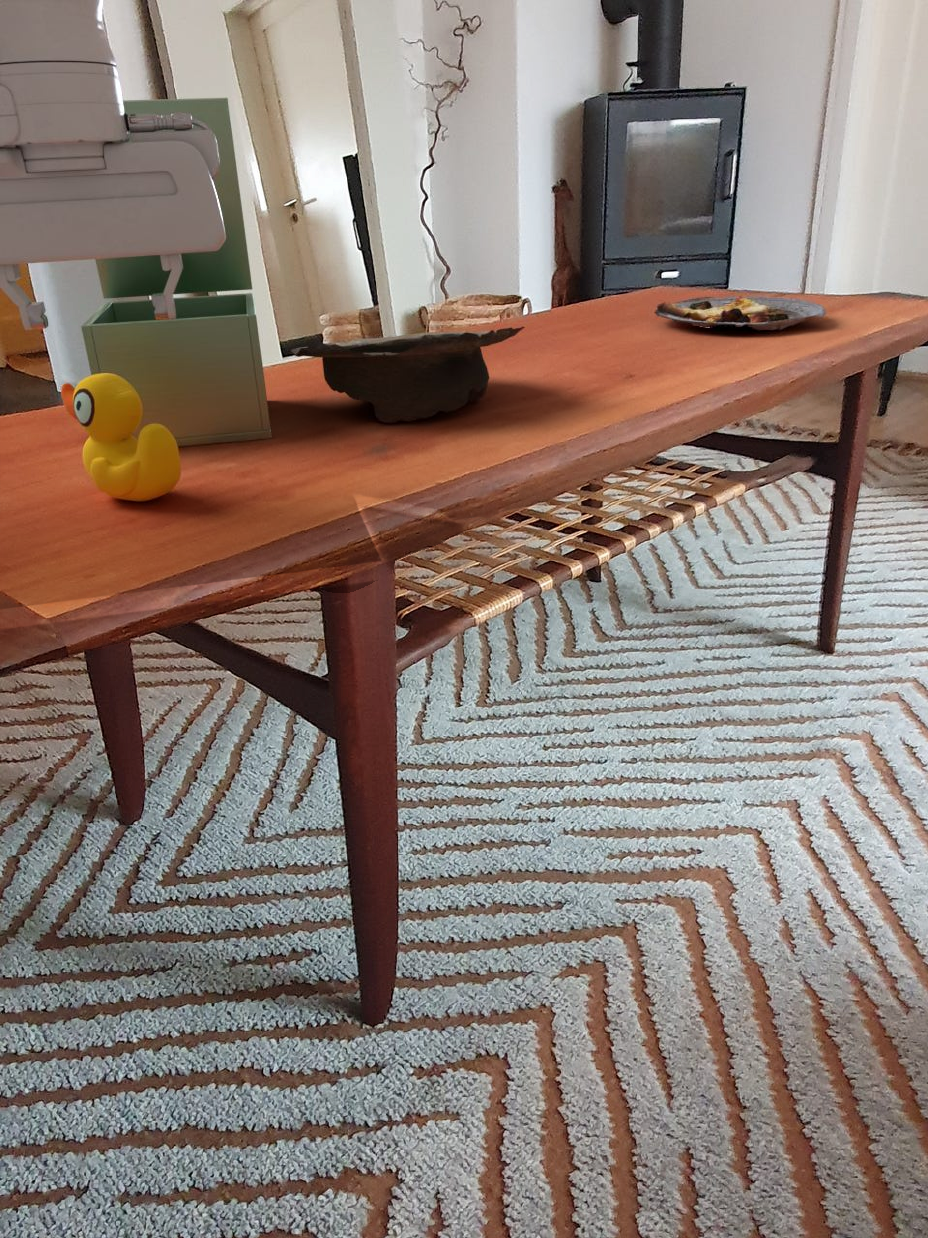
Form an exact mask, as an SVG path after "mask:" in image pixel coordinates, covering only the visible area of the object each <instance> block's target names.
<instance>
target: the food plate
mask: <svg viewBox="0 0 928 1238" xmlns="http://www.w3.org/2000/svg"><path fill="white" fill-rule="evenodd" d="M654 314H655V315H656V317H661V318H665V319H667V320H671V321H674V322H675V323H677V322H679V323H687V324H691V326H692V325H693V327H694V326H702V327H710V328H711V327H712V328H711V329H714V328H715V327H717V326H719V325H721V326H731V327H730V329H732V328H733V326H734V327H737V328H741V327H743V326H745V327H746V326H747V327H748V328H751V329H753V330H754V329H755V330H754V331H767V330H768V331H774V330H778V329H779V331H782V330H783V329H785V328H788V327H791V326H792V327H793V326H795V325H797V324H799V323H804V322H805V321H810V320H811V319H813V318H814V317H815V318H820V317H821V318H822V317H823V316H825V315H826V314H827V310H826V309H825V307H824V306H823V305H821V304H820V303H817V302H814V301H809V300H806V299H798V298H797V299H794V298H792V297H791V298H789V297H775V296H774V297H772V296H757V295H756V296H755V295H754V296H742V295H740V296H725V297H714V296H703V297H702V296H701V297H695V298H691V299H690V298H689V299H685V300H681V301H677V302H676V301H675V302H673V303H671V302H670V301H668V302H666V301H664V302H661V303H659V304H658V303H657V306H656V309H655V310H654ZM756 329H757V330H756Z"/></svg>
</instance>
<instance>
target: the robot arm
mask: <svg viewBox="0 0 928 1238" xmlns="http://www.w3.org/2000/svg"><path fill="white" fill-rule="evenodd" d="M103 5H104V0H0V289H1V290H2V292H4V294H5V295H6V296H7V297H8V298H9V299H10V300H11V301H12V302H13V304H14V305H15V306H17V307H18V310H19V314H20V318H21V322H22V326H23V328H24V330H25V331H34V330H42V329H43V330H45V329H47V328H48V327H49V319H48V316H47V315H46V314H45V313H46V305H45V303H44V301H32V300H31V298H30V297H29V296H28V295H27V294H26V292H25V291H24V289H22V288H21V286H20V285H19V284H18V283H17V281H18V280H20V279H21V278H22V273H21V268H20V265H25V264H40V263H41V264H42V263H57V262H71V261H86V260H87V261H88V260H89V261H90V260H95V259H104V258H119V257H135V256H150V255H160V258H161V264H162V269H163V270H164V271H169V270H170V269H171V273H170V275H169V278H168V281H167V284H166V286H165V289H164V292H163V293H157V294H153V295H152V296H151V299H152V302H153V306H154V307H155V308H156V309H155V311H154V313H155V318H156V320H163V319H176V309H175V303H174V298H175V297H174V294H173V293H174V291H175V288H176V286H177V283H178V280H179V278H180V275H181V272H182V269H183V263H182V257H181V253H197V252H212V251H217V250H219V248H220V247H221V246H222V245H223V243H224V242H225V239H226V234H225V228H224V222H223V218H222V213H221V209H220V204H219V200H218V197H217V193H216V190H215V186H214V183H213V180H214V179H215V177H216V176H217V174H218V171H219V167H220V160H219V154H218V147H217V141H216V137H215V135H214V133H213V132H212V130H211V129H210V128H209V127H208V126H207V125H206V124H205V123H204V122H202V121H200V120H197V119H192V117H191V114H188V113H173V114H172V115H162V116H161V115H156V114H154V115H153V114H131V115H126V113H125V109H124V104H123V100H124V99H123V94H122V93H123V92H122V87H121V83H120V78H119V71H118V66H117V61H116V58H115V55H114V53H113V51H112V49H111V47H110V44H109V41H108V39H107V35H106V32H105V27H104V21H103V20H104V19H103V7H104V6H103ZM193 125H196V126H199V127H200V128H202V129H203V130H190V129H193ZM167 129H168V130H175V131H163V132H156V131H162V130H167ZM129 130H130V137H129V133H128V132H129ZM186 130H187V131H186ZM130 138H131V142H129V141H130ZM125 142H128V143H125Z"/></svg>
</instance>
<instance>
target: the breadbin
mask: <svg viewBox="0 0 928 1238" xmlns="http://www.w3.org/2000/svg"><path fill="white" fill-rule="evenodd" d="M173 298H174V303H175V309H176V319H163V320H156V318H155V313H154V311H155V309H156V308H155V307H154V306H153V302H152V298H150V299H136V300H134V299H133V300H121V301H119V300H118V301H105V302H103V304H102V305H101V306H100V307H99V308H98V309H97V310H95V312H94V313H93V314H91V316H90V317H89V318H88V319H87V320H85V322H84V323H83V324H82V325H81V326H80V327H81V333H82V337H83V342H84V347H85V351H86V356H87V361H88V366H89V371H90V376H91V375H94V374H100V373H110V374H115V375H118V376H120V377H122V378H123V379H125V380H126V381H127V382H129V383H130V384H131V385H132V386H133V388H134V389H135V390H136V392H137V393H138V395H139V397H140V400H141V403H142V409H143V414H142V420H141V423H140V425H139V427H138V428H137V429H136V430H135V431H134V432H133V433H132V435H133V436H134V437H135V438H136V439H137V440H138V438H139V434H140V432H141V430H142V428H143V427H145V426H146V425H149V424H153V423H156V424H161V425H163V426H165V427H166V428H167V429H168V430H169V431H170V433H171V434H172V435H173V437H174V438H175V440H176V442H177V446H178V448H180V447H193V446H201V445H212V444H224V443H225V444H226V443H235V442H236V443H237V442H245V441H246V442H247V441H257V440H268V439H272V438H273V436H272V429H271V421H270V413H269V411H270V410H269V404H268V396H267V389H266V382H265V373H264V366H263V359H262V358H263V357H262V350H261V342H260V334H259V327H258V319H257V312H256V304H255V298H254V293H253V292H248V293H233V294H231V293H229V294H216V295H214V294H213V295H199V296H198V295H197V296H184V297H182V296H181V297H173Z"/></svg>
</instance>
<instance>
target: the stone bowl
mask: <svg viewBox="0 0 928 1238" xmlns="http://www.w3.org/2000/svg"><path fill="white" fill-rule="evenodd" d="M525 328H526V326H521V327H516V328H513V327H512V326H511V327H507V328H500V329H496V330H494V329H491V330H480V331H465V330H462V331H461V330H460V331H442V332H431V331H430V332H419V333H412V334H402V335H396V336H395V335H394V336H384V337H383V336H382V337H372V338H359V339H354V340H351V341H337V342H330V343H324V342H319V341H317V342H314V344H313V345H308V346H303V347H302V346H301V347H297V348H292V349H290V352H291V353H293V354H294V357H297V358H300V357H301V358H302V357H310V358H321V360H322V370H323V377H324V381H325V383H326V384H327V385H328V387H329V388H330V389H331V390H332V391H334V392H337V393H339V394H344V393H345V394H346V395H347V396H348V397H349V398H351V399H352V400H354V401H355V400H356V401H362V402H367V403H371V404H372V405H373V410H374V411H373V412H374V416H375V418H376V419H377V420H378V421H380V422H383V423H385V424H394V423H397V422H406V423H407V422H408V423H409V422H415V421H417V420H421V419H428V418H431V417H433V416H435V415H436V414H437V413H438V412H444V413H447V412H448V413H449V412H450V413H451V412H453V411H457V410H458V409H460V408H462V407H464V406H466V404H467V403H470V402H473V401H477V400H479V399H483V398H484V396H485V395H486V394H487V389H488V385H489V381H490V374H489V370H488V366H487V364H486V362H485V359H484V355H483V352H482V349H481V348H484V347H485V348H486V347H488V346H492V345H495V344H500V343H502V342H504V341H506V340H508V339H510V338H513V337H515V336H516V335H517V334H518V333H520V332H521V331H522V330H523V329H525Z"/></svg>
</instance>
